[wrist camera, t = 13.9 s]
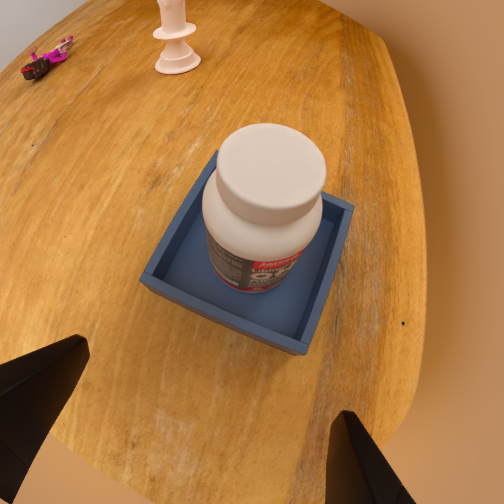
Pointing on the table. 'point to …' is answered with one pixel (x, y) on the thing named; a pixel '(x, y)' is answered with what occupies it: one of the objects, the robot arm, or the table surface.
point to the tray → (248, 304)
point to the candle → (175, 39)
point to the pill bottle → (262, 205)
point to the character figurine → (45, 60)
